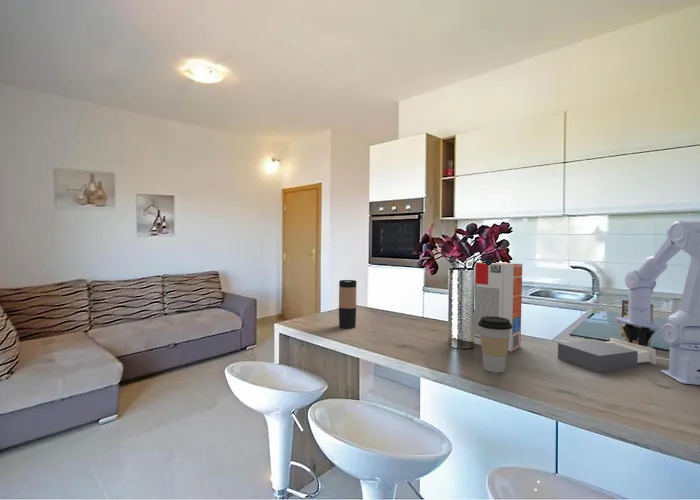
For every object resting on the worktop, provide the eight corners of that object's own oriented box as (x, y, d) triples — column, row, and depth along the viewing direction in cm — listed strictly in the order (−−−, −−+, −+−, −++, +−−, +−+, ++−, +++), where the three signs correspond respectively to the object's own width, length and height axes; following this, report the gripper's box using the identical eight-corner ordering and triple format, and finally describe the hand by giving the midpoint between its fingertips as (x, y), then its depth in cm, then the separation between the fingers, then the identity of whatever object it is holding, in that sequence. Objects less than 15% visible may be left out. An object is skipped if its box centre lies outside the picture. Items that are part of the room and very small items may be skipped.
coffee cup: (502, 364, 114) (503, 315, 114) (517, 375, 105) (518, 322, 105) (472, 364, 114) (473, 315, 114) (484, 375, 105) (485, 322, 104)
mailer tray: (618, 369, 110) (619, 351, 110) (576, 354, 123) (576, 339, 123) (662, 362, 116) (663, 346, 116) (618, 349, 130) (618, 335, 130)
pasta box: (520, 346, 133) (522, 263, 133) (511, 351, 128) (513, 264, 127) (461, 334, 149) (463, 260, 149) (451, 338, 144) (453, 261, 143)
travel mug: (335, 325, 163) (336, 280, 162) (351, 324, 166) (352, 279, 166) (342, 329, 156) (343, 282, 155) (359, 327, 159) (359, 281, 159)
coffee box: (619, 341, 143) (621, 299, 142) (638, 342, 141) (640, 300, 141) (632, 347, 134) (634, 303, 133) (653, 349, 132) (654, 304, 132)
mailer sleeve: (598, 372, 108) (599, 355, 107) (557, 358, 121) (558, 342, 121) (637, 367, 113) (637, 351, 113) (593, 353, 126) (594, 339, 126)
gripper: (608, 305, 128) (607, 344, 128) (655, 313, 114) (653, 356, 115) (623, 304, 130) (622, 342, 131) (670, 311, 116) (668, 354, 117)
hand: (637, 349), depth 123 cm, fingers closed on mailer tray, 2 cm apart
